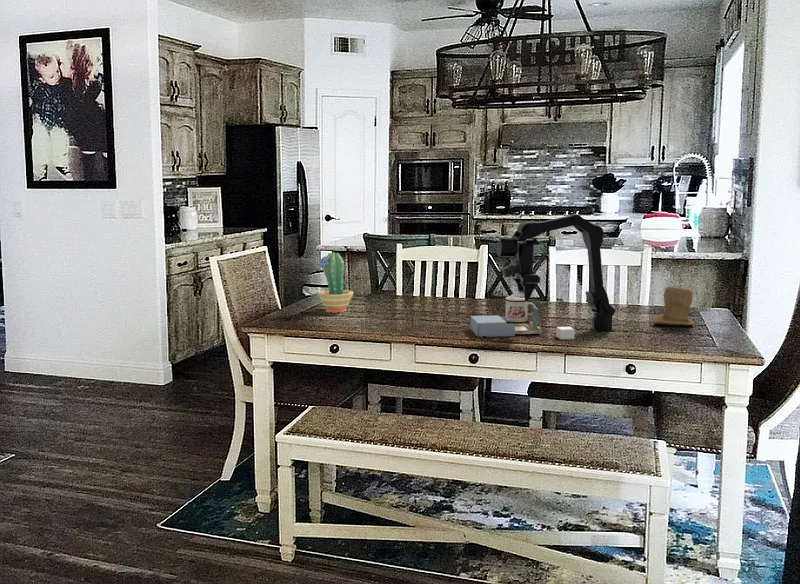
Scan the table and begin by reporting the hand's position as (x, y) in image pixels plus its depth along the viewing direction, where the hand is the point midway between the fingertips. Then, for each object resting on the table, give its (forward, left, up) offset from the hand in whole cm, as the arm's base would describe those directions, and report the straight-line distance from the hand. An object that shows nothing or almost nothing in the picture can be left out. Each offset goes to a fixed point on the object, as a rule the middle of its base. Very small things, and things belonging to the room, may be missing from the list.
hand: (523, 299), depth 286 cm
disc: (0, 0, +1) cm, 1 cm away
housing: (+10, -2, -13) cm, 16 cm away
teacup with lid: (-5, -24, -13) cm, 28 cm away
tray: (+1, -2, -13) cm, 13 cm away
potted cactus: (+68, -54, -13) cm, 88 cm away
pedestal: (-13, +10, -13) cm, 21 cm away
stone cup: (-62, -10, -13) cm, 64 cm away
